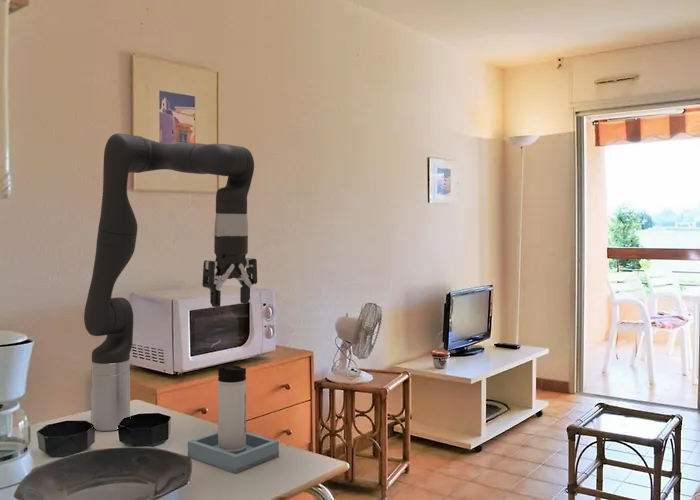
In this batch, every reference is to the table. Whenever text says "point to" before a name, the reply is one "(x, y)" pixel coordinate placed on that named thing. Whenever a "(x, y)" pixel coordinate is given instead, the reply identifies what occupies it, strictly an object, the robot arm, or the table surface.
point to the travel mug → (231, 408)
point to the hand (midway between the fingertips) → (230, 304)
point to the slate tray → (255, 453)
